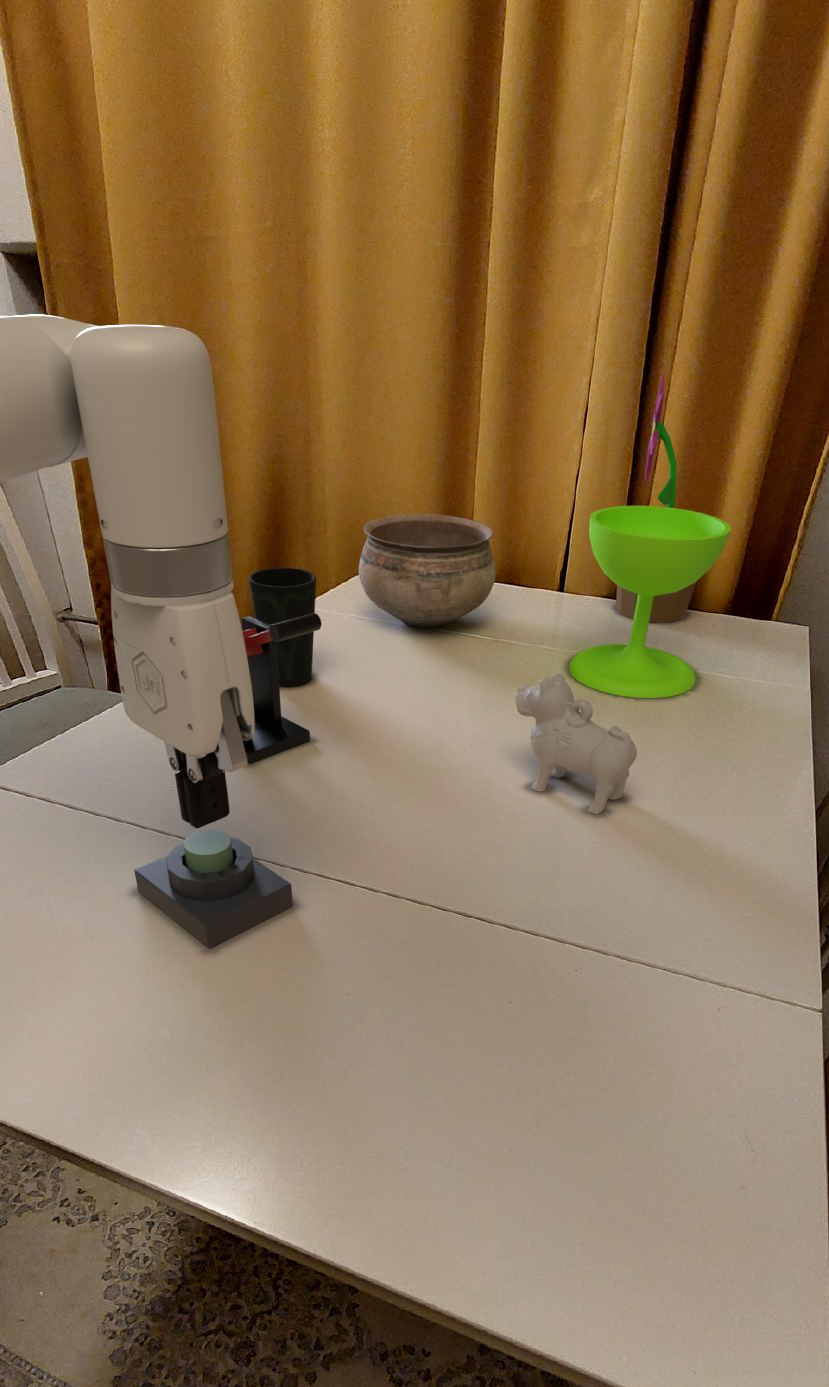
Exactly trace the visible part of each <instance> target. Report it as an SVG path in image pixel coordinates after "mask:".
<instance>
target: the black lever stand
mask: <svg viewBox="0 0 829 1387" xmlns="http://www.w3.org/2000/svg"><path fill="white" fill-rule="evenodd" d="M240 621H241V628H242V631H246V630H249V629H253V628H255V629H256V632H257V634H259V633H262V632H265V631H268V630H269V627H270V625H268V624H266V623H264V622H261V621H259V620H257V619H255V617H252V616H245V617H241V619H240ZM261 647H262V650H263V652H262V653H258V654H255V655H252V656H249V657H247V660H248V666H249V672H250V679H251V686H252V694H253V704H254V733H253V736H252V738H251V739H250V740H248V741H243V745H244V749H245V753H246V757H247V762H248V763H247V764H253V763H255V762H259V761H261V760H263V759H266V758H269V757H271V756H274V755H277V754H279V753H282V752H285V751H288V750H290V749H292V748H296V747H298V746H300V745H303V744H305V743H308V742H311V731H310V729H307V728H306V727H303V726H301V725H299V724H297V723H296V722H294V721H291V720H289V719H287V718H286V717H284V716H282V704H281V690H280V689H281V688H280V687H279V674H278V659H277V644H276V642H274V641H271V642H268V643H265V644H262V645H261Z"/></svg>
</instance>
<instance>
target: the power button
mask: <svg viewBox="0 0 829 1387" xmlns="http://www.w3.org/2000/svg"><path fill="white" fill-rule="evenodd" d="M230 837H231V836H230V835H229V834H228V833H226V832H223V831H222V830H215V829H205V830H201V831H200V830H199V831H196V832H194V833H192V834H190V835H188V836H187V837H185V840H184V841H183V843H184V851H185V858H186V864H187V866H188V868H189V869H190V870H192V871H194V872H200V873H210V872H218V871H221V870H224V869H226V868H228V867H230V866H231V864H232V863H233V851H232V842H231V838H230Z"/></svg>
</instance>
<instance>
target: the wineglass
mask: <svg viewBox="0 0 829 1387" xmlns="http://www.w3.org/2000/svg"><path fill="white" fill-rule="evenodd" d="M588 525H589V527H588V529H589V532H588V538H589V541H590V546H591V550H592V554H593V556H594V558H595V560H596V561H597V563H598V565H599V567H600V568H601V570H602V572H603V574H604V575H606V576H607V578H608V579H610V580H611V581H612V582H613V583H614V584H615V585H616V586H617V585H618V586H620V587H622V588H624V589H626V590H629V591H631V592H633V593H636V594H638V597H637V603H636V609H635V614H634V619H632V626H631V631H630V637H629V642H628V644H626V643H625V644H621V643H614V644H602V645H597V646H592V647H589V648H586V649H584V650H582V651H581V650H580V651H579V652H578V653H577V654H575V656H574V657H573V658H571V660H570V662H569V666H568V672H569V673H570V675H571V677H573V678H574V679H575V680H576V681H578V682H579V683H581V684H583V685H585V686H586V687H588V688H591V689H593V690H597V691H599V692H603V693H607V694H611V695H615V696H620V697H628V698H636V699H659V698H660V699H661V698H670V697H674V696H677V695H682V694H684V693H686V692H688V691H691V689H693V687H694V686H695V685H696V673H695V671H694V670H693V668H692V667H691V666H690V664H689V663H688V662H686V661H685V660H683V659H682V658H681V657H679V656H676V655H674V654H673V653H670V652H667V651H664V650H661V649H658V648H653V647H648V646H646V640H647V634H648V629H649V623H650V622H649V619H650V614H651V608H652V603H653V598H654V596H657V595H663V594H668V593H674V592H677V591H680V590H681V589H683V588H685V587H687V586H689V585H691V584H693V583H695V582H696V581H697V582H698V581H699V579H701V578H702V577H703V576H704V575H705V574H706V573H707V572H709V570H711V569H712V568H713V566H715V564H716V562H717V561H718V559H719V557H720V556H721V555H722V553H723V552H724V550H725V548H726V545H727V542H728V541H729V537H730V534H731V531H732V527H731V525H730V524H729V523H728V522H726V521H725V520H723V519H721V518H719V517H716V516H714V515H711V514H707V513H703V512H698V511H694V510H689V509H685V508H683V509H682V508H676V507H674V508H669V507H667V506H658V505H657V506H656V505H618V506H610V507H605V508H601V509H597V510H595V511H594V512H591V513H590V516H589V524H588ZM697 582H696V583H697Z"/></svg>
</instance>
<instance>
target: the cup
mask: <svg viewBox="0 0 829 1387" xmlns="http://www.w3.org/2000/svg"><path fill="white" fill-rule="evenodd" d="M248 584H249V590H250V596H251V602H252V607H253V614H254V619H257V620H259V621H261V622H264V623H266V624H268V625H272V624H276V623H279V622H283V621H287V620H290V619H294V618H298V617H301V616H305V615H309V614H312V613H316V594H317V593H316V592H317V576H316V574H314V573H313V572H311V571H310V570H306V569H302V568H295V567H271V568H270V567H269V568H265V569H260V570H257V571H254V572H251V574H250V575H249V576H248ZM314 633H315V631H313V632H310V633H307V634H303V635H300V636H296V637H293V638H289V639H286V640H282V641H279V642H276V644H277V659H278V674H279V688H296V687H301V686H304V685H307V684H309V683H310V682H311V681H312V678H313V677H312V676H313V657H314V656H313V655H314V636H315V634H314Z"/></svg>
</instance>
